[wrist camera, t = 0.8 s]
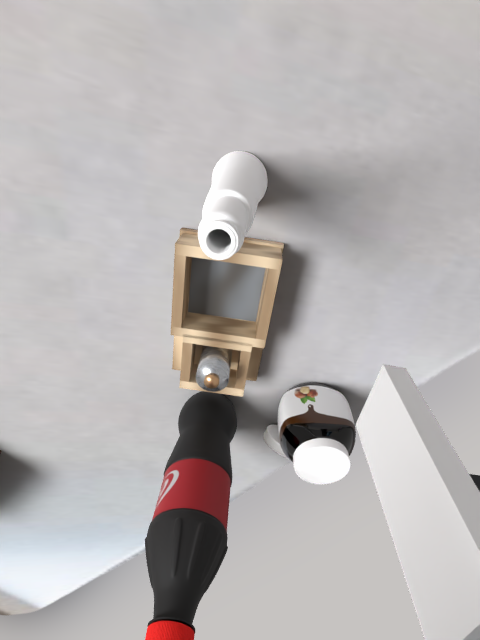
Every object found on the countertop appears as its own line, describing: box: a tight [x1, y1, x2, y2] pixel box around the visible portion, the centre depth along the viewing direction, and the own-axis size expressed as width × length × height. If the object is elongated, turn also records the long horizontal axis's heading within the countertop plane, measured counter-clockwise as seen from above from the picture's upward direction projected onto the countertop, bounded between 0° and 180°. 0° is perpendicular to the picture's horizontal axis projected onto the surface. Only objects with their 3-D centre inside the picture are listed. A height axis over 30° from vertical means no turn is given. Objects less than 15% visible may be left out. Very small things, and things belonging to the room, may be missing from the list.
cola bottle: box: [145, 391, 237, 640], centre depth 42 cm, size 8×8×30 cm
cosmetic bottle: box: [198, 151, 268, 260], centre depth 29 cm, size 6×6×22 cm
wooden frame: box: [171, 228, 284, 397], centre depth 45 cm, size 12×20×5 cm, turn 172°
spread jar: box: [263, 383, 356, 484], centre depth 49 cm, size 12×11×12 cm
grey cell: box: [196, 345, 233, 392], centre depth 46 cm, size 4×4×7 cm
